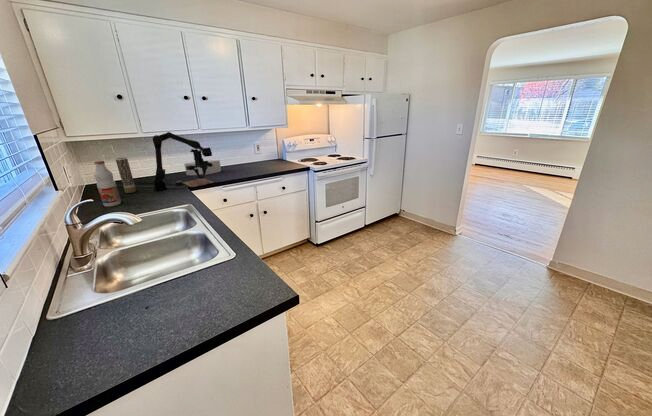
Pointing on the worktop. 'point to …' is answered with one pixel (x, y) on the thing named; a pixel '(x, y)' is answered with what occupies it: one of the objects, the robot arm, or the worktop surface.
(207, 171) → the block
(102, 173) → the fruit juice
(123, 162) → the paper tube
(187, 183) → the face board
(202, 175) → the eye
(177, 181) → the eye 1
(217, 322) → the worktop surface
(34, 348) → the worktop surface
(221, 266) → the worktop surface
